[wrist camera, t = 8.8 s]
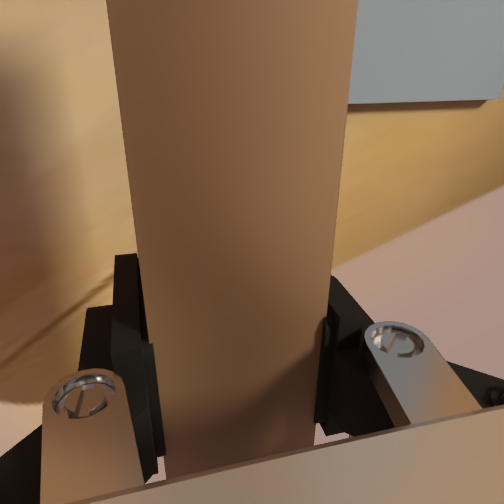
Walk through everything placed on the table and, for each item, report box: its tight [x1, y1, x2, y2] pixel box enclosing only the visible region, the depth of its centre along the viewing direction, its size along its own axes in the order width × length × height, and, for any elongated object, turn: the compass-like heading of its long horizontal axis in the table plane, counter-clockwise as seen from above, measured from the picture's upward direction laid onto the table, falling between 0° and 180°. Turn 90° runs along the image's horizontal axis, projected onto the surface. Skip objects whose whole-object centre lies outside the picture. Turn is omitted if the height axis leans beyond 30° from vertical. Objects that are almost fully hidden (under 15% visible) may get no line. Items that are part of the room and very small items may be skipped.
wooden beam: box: [106, 0, 358, 480], centre depth 11 cm, size 3×22×4 cm, turn 0°
